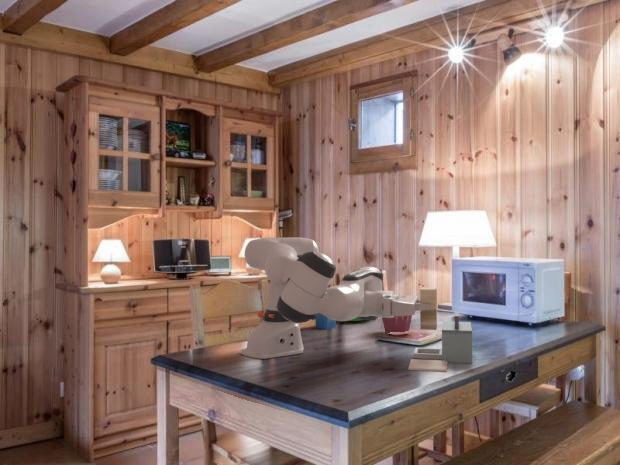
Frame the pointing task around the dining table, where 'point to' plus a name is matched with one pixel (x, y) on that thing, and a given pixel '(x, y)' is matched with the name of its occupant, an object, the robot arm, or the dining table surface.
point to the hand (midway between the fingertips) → (431, 305)
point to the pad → (428, 365)
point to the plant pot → (397, 323)
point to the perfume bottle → (324, 322)
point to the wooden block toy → (451, 343)
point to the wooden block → (428, 316)
